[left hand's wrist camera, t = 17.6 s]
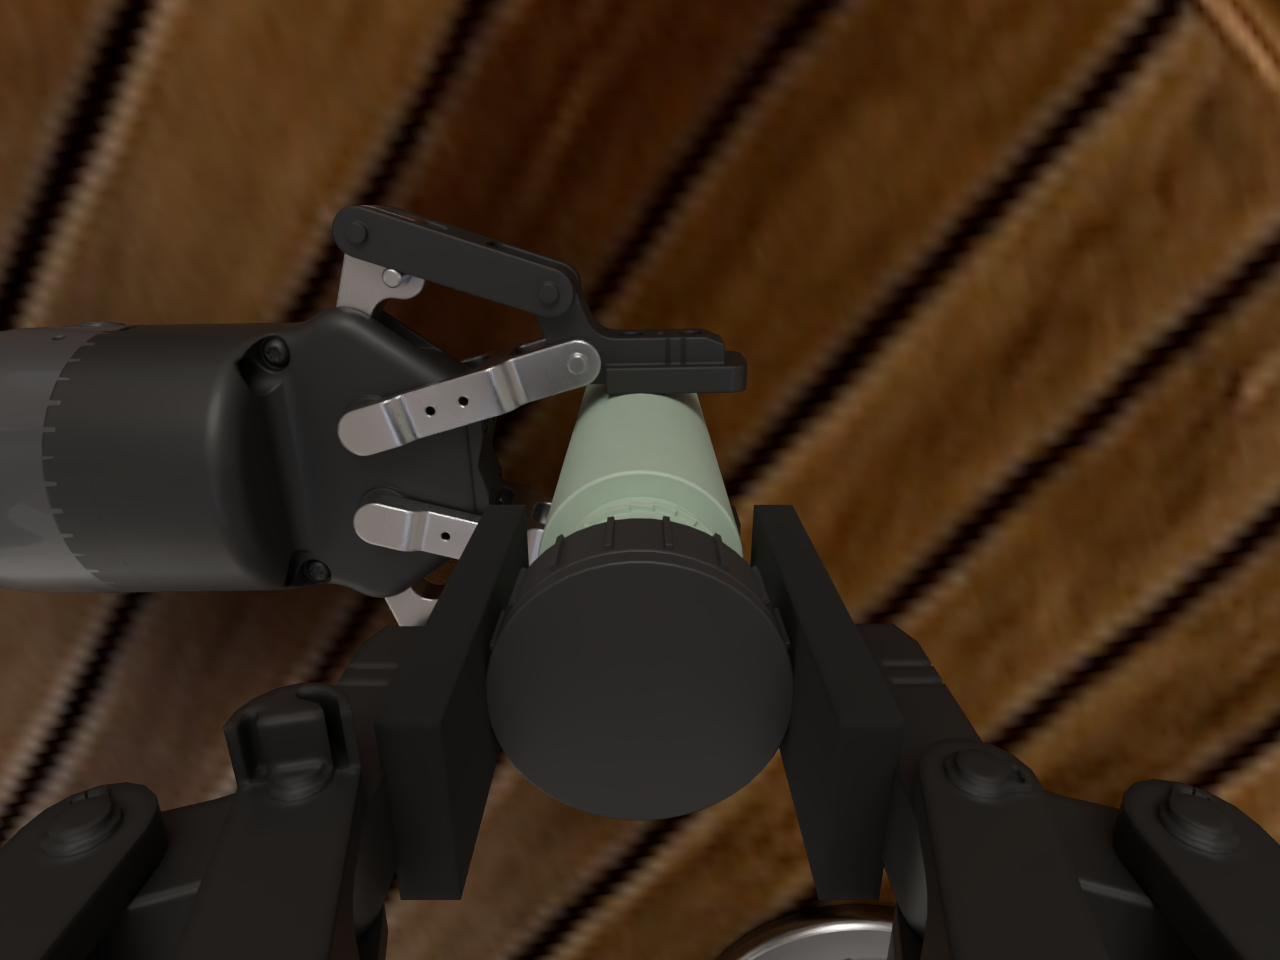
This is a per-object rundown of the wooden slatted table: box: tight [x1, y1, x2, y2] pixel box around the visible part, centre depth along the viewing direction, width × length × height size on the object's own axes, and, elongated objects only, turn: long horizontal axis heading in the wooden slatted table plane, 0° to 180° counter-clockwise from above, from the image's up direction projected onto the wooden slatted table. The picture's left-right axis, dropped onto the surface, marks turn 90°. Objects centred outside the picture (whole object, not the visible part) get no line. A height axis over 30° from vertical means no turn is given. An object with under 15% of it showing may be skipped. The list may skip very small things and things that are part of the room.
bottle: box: [538, 384, 743, 558], centre depth 20 cm, size 4×4×15 cm
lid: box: [486, 516, 794, 820], centre depth 11 cm, size 5×5×2 cm
